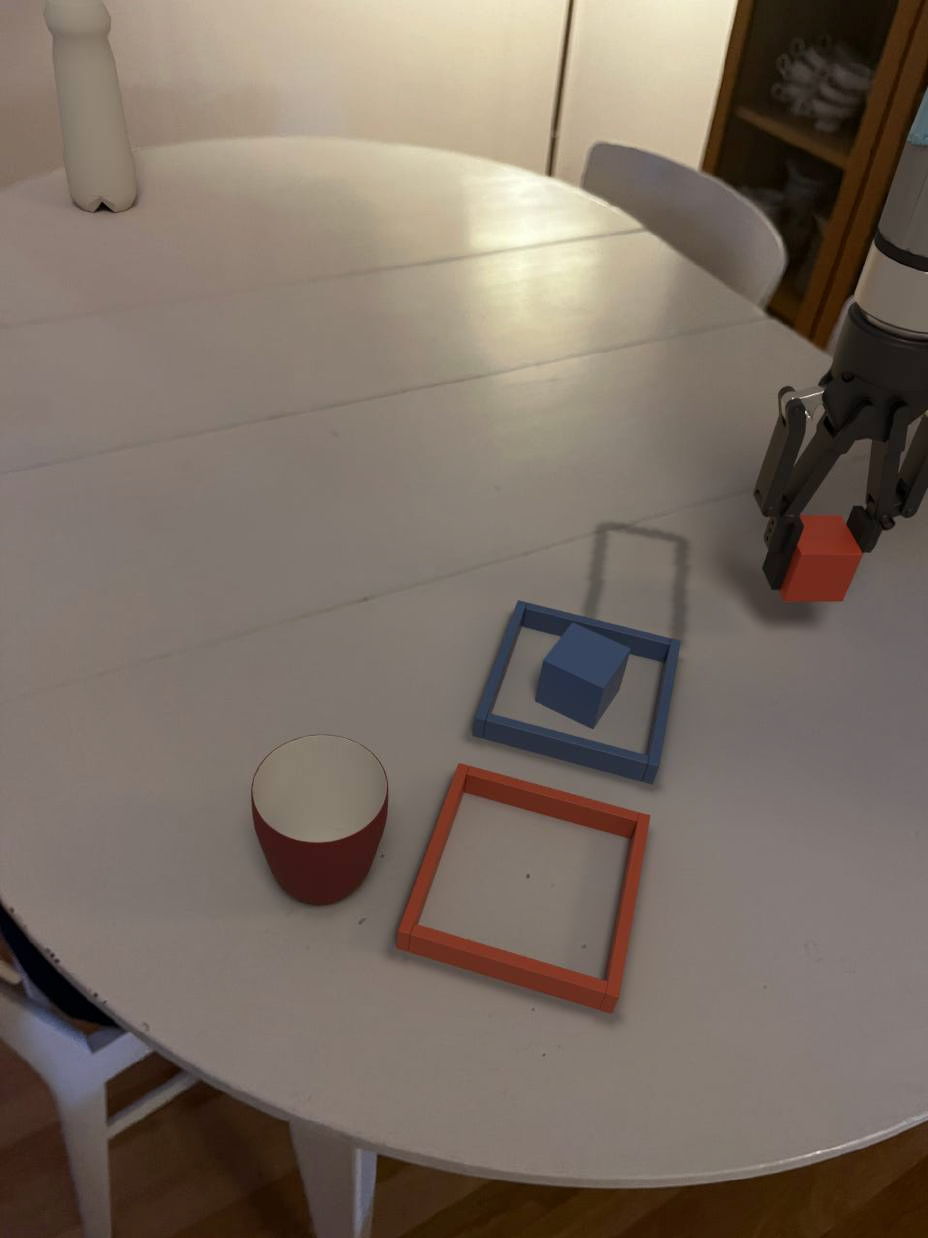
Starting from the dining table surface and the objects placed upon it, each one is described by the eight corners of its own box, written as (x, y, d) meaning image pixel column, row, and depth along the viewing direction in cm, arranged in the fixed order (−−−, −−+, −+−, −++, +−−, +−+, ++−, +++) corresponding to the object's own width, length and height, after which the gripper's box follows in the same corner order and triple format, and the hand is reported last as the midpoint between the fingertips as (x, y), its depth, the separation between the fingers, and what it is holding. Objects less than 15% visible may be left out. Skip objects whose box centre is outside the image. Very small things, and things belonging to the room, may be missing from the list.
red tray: (641, 840, 71) (650, 815, 69) (609, 1021, 61) (619, 997, 59) (455, 788, 73) (458, 762, 71) (395, 955, 63) (397, 930, 61)
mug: (307, 786, 72) (304, 691, 65) (414, 822, 71) (422, 728, 64) (236, 911, 65) (225, 817, 58) (354, 953, 63) (357, 863, 56)
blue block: (618, 693, 81) (631, 648, 77) (592, 733, 77) (603, 688, 74) (562, 666, 82) (572, 621, 79) (534, 704, 79) (543, 659, 76)
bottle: (74, 189, 143) (30, -64, 123) (141, 190, 145) (109, -59, 124) (67, 215, 137) (21, -47, 116) (138, 216, 138) (104, -42, 118)
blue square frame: (672, 666, 84) (681, 640, 82) (650, 792, 74) (659, 766, 72) (513, 625, 86) (517, 599, 84) (471, 743, 76) (474, 717, 74)
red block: (822, 562, 86) (841, 514, 83) (842, 602, 82) (863, 554, 79) (765, 561, 85) (782, 514, 82) (783, 601, 82) (801, 553, 78)
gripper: (1009, 292, 71) (891, 550, 87) (761, 284, 70) (687, 549, 85) (1062, 345, 66) (927, 609, 82) (796, 337, 64) (709, 610, 80)
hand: (804, 578), depth 84 cm, fingers closed on red block, 5 cm apart
